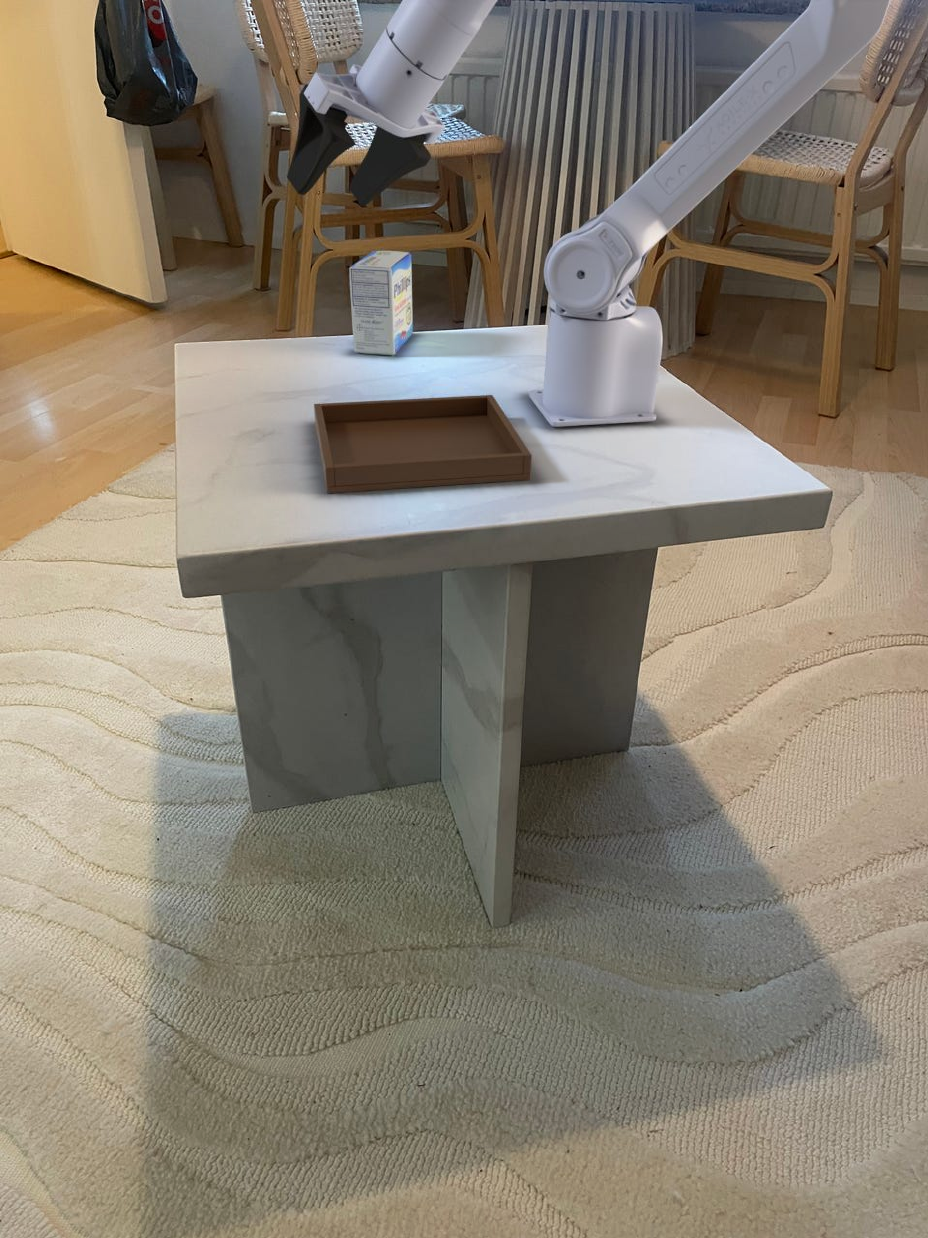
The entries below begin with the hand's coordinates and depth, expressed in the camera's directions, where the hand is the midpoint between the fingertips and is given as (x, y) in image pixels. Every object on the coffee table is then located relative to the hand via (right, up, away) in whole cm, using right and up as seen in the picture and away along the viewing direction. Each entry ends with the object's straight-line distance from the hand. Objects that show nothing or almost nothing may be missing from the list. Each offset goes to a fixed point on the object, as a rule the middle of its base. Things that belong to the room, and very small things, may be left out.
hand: (327, 191), depth 80 cm
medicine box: (+3, -8, +17) cm, 19 cm away
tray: (+8, -24, -7) cm, 26 cm away
